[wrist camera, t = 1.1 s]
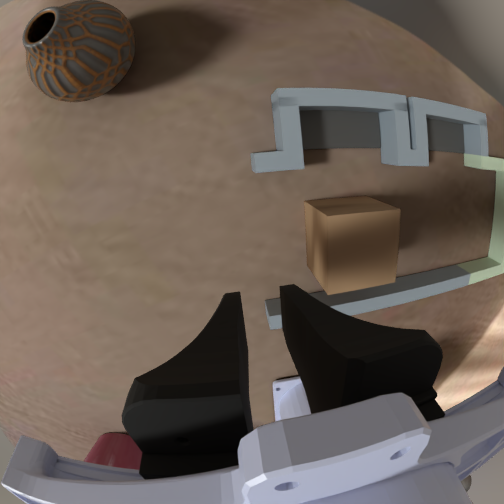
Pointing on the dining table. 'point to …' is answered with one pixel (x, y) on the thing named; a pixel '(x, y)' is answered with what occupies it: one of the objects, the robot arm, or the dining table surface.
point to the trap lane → (392, 152)
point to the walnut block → (351, 242)
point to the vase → (78, 49)
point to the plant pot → (115, 451)
